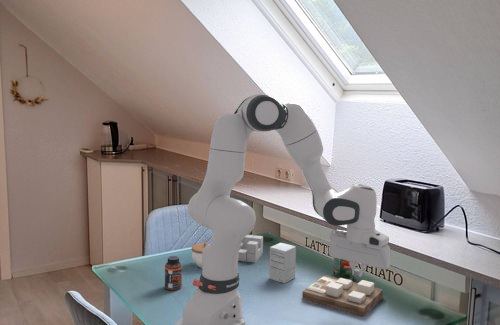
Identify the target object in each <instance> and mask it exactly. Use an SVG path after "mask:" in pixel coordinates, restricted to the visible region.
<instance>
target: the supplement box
mask: <svg viewBox="0 0 500 325" xmlns="http://www.w3.org/2000/svg"><path fill="white" fill-rule="evenodd" d="M296 256H297V246H295V245H292V244H288V243H285V242H279V243H277V244H275V245H272V246H270V247H269V272H268V273H269V274H268V275H269V276H268V278H269V279H270V280H272V281H275V282H279V283H281V284H286V283H288V282H290V281H291V280H294V279H295V278H296V262H297V260H296Z"/></svg>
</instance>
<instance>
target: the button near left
mask: <svg viewBox="0 0 500 325" xmlns="http://www.w3.org/2000/svg"><path fill="white" fill-rule="evenodd" d="M326 294H327V295H331V296H334V297H339V296H341V295H342V294H343V285H342V284H338V283H334V282H330V283H329V284H328V285H326Z"/></svg>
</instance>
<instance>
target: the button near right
mask: <svg viewBox="0 0 500 325" xmlns="http://www.w3.org/2000/svg"><path fill="white" fill-rule="evenodd" d="M365 297H366V294H364V293H360V292H356V291H352V292H351V293H350V294H349V295H348V300H349V301H352V302H356V303H360V304H361V303H362V302H363V301H365Z"/></svg>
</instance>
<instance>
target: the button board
mask: <svg viewBox="0 0 500 325" xmlns="http://www.w3.org/2000/svg"><path fill="white" fill-rule="evenodd" d="M338 279H339V278H335V277H333V276H331V275H326V274H325V275H323V276H322V277H320V278H319V279H317V280H316V281H315V282H314V283H313V282H312V284H310V285H309V286H308V287H306V288H305V289H304V290H302V293H301V294H302V298H301V300H303V301H306V302H310V303H313V304H316V305H319V306H320V305H321V306H323V307H327V308H332V309H335V310H338V311H342V312H344V313H347V314H351V315H355V316H358V317H362V318H364V317H365V316H367V314H368V313H369V312H370V311H371V310H372V309H373V308H374V307H376V305H377V304H379V302H380V301H381V300H382V299H383V295H384V294H383V293H384V288H383V289H382V288H378V287H375V286H374V292H373V293H372V294H371V295H366V297H365V301H363V302H362V303H361V304H360V303H356V302H352V301H349V300H348V295H349V294H350V293H351V292H352V291H356V292H357V284H358V283H359V282H355V281H352V286H351V287H350V288H349V289H348V290H347V289H343V294H342V295H341V296H339V297H334V296H331V295H327V294H326V285H328V284H329V283H330V282H334V283H336V281H337V280H338Z"/></svg>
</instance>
